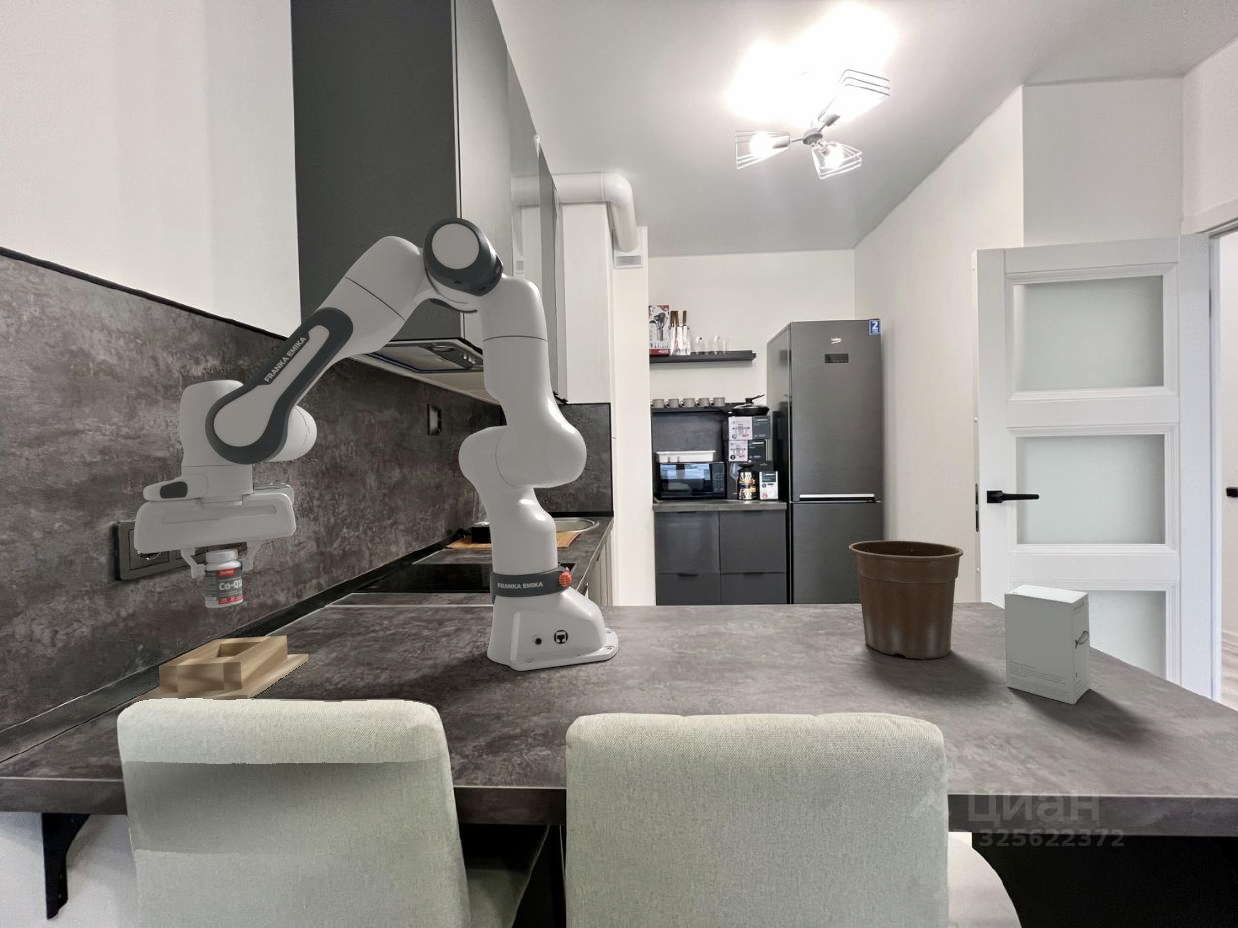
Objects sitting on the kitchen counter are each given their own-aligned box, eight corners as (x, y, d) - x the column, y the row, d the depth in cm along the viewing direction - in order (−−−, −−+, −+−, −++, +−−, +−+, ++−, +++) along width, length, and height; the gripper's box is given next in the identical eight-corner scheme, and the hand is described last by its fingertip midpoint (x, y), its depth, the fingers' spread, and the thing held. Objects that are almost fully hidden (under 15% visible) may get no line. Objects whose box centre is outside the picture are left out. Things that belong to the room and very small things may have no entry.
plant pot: (906, 625, 97) (903, 536, 97) (992, 655, 82) (988, 549, 82) (831, 638, 92) (828, 544, 92) (908, 672, 77) (904, 560, 77)
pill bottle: (222, 609, 81) (219, 553, 81) (197, 608, 82) (194, 553, 82) (250, 600, 86) (247, 548, 86) (226, 600, 87) (224, 548, 87)
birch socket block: (308, 660, 93) (307, 630, 93) (247, 702, 77) (246, 666, 77) (213, 665, 92) (211, 635, 92) (132, 709, 76) (130, 673, 76)
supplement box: (1076, 706, 65) (1072, 602, 65) (1004, 686, 71) (1001, 592, 71) (1093, 688, 70) (1090, 591, 70) (1024, 671, 76) (1022, 582, 76)
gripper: (287, 480, 94) (291, 560, 94) (129, 489, 79) (134, 583, 79) (299, 480, 89) (303, 563, 90) (134, 489, 74) (139, 589, 75)
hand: (223, 573), depth 84 cm, fingers closed on pill bottle, 5 cm apart
